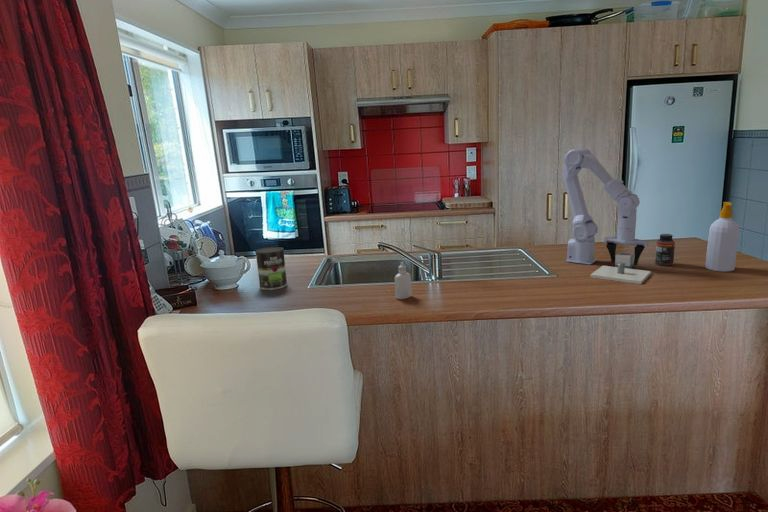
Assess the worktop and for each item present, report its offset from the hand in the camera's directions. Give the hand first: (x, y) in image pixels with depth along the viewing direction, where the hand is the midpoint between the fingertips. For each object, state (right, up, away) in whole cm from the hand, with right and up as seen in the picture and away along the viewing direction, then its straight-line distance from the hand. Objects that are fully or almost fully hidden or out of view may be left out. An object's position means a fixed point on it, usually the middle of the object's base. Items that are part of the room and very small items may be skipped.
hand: (624, 263), depth 174 cm
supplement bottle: (+16, -1, +1) cm, 16 cm away
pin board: (-6, -4, -10) cm, 12 cm away
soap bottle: (+30, -2, -8) cm, 31 cm away
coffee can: (-131, -9, +2) cm, 132 cm away
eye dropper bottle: (-83, -11, -19) cm, 86 cm away
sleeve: (0, -1, 0) cm, 1 cm away
